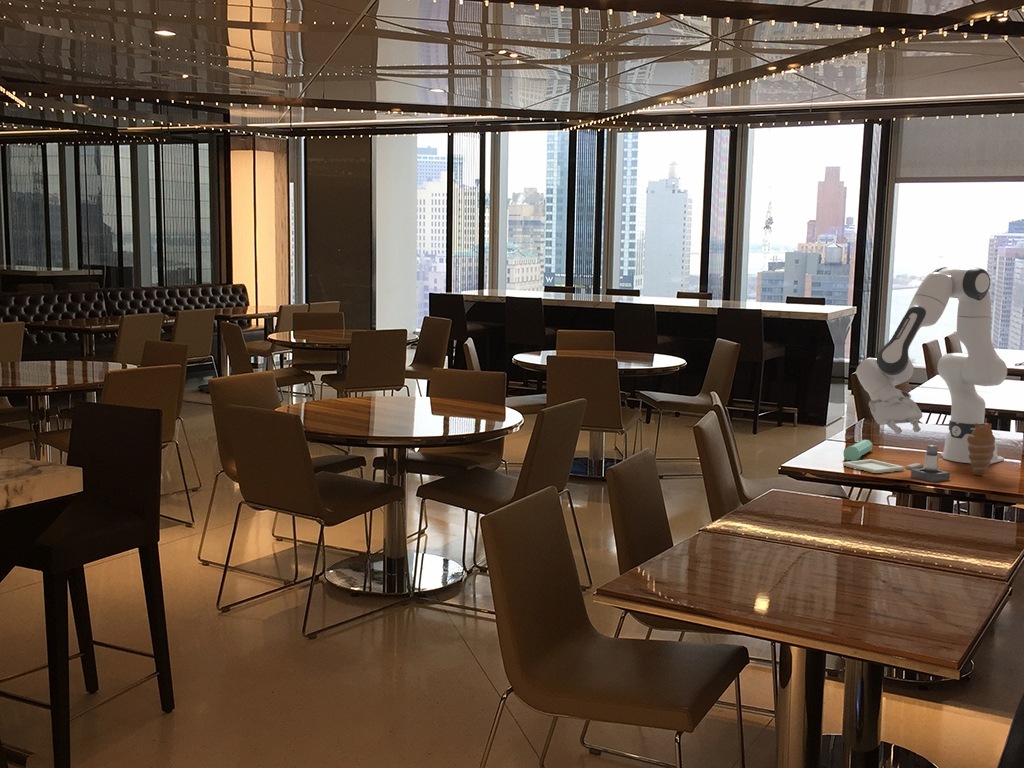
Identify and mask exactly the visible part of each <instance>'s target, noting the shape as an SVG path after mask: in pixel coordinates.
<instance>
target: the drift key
mask: <svg viewBox="0 0 1024 768" xmlns="http://www.w3.org/2000/svg"><path fill="white" fill-rule="evenodd" d="M906 468H907V469H906ZM921 468H924V464H923V463H919V462H918V463H917V462H915V463H914V462H913V463H911V464H910V463H909V464H907V465H906V466H905V469H906V470H909V469H911V470H913V469H921ZM911 470H910V471H911Z"/></svg>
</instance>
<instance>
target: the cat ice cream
mask: <svg viewBox="0 0 1024 768" xmlns="http://www.w3.org/2000/svg"><path fill="white" fill-rule="evenodd" d="M967 441H968V443H969V445H968V450H969V452H970V454H969V459H970V460H971V463H970V466H971V468H972V473H973V474H974V475H976V476H978V477H981V476H985V475H986V473H987V472H988V467H989V466H990V465H991V464H992V463H991V459H992V458H993V452H994V450H995V445H994V443H996V438H995V435H994V434H993V430H992V423H987V425H986V426H985V425H979V424H977V423H975V429H974V430H973V432H972V434H971V435H969V436H968V438H967ZM990 463H991V464H990Z"/></svg>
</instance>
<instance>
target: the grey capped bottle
mask: <svg viewBox="0 0 1024 768" xmlns="http://www.w3.org/2000/svg"><path fill="white" fill-rule="evenodd" d="M938 450H939V446H938V445H934V444H927V445H926V452H925V455H924V464H923V468H924V472H927V473H932V474H934V473H937V470H938V466H939V465H938V464H939V454H938V453H939V451H938Z"/></svg>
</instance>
